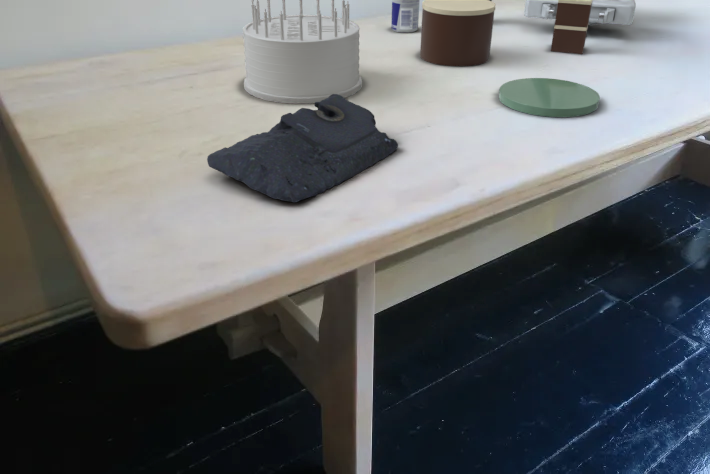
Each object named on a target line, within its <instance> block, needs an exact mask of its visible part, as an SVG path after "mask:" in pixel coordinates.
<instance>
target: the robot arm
mask: <svg viewBox="0 0 710 474" xmlns="http://www.w3.org/2000/svg"><path fill="white" fill-rule="evenodd" d="M524 2H525V4H524V9H523V10H524V11H523V15H524V16H525V17H526V18H532V19H544V20H555V19H556V13H557V6H558V0H525V1H524ZM636 7H637V4H636V1H635V0H593V1H592V7H591V12H590V18H589V23H588V26H596V25H624V26H630V25H632V24H633V21H634V19H635V18H634V17H635V13H636Z"/></svg>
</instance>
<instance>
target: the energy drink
mask: <svg viewBox="0 0 710 474" xmlns="http://www.w3.org/2000/svg"><path fill="white" fill-rule="evenodd" d="M419 18H420V0H391V22H390V23H391V25H390V26H391V27H390V28H391V30H392V31H393V32H397V33H403V34H404V33H407V34H408V33H414V32H417V30H419V20H420V19H419Z"/></svg>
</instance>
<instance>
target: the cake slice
mask: <svg viewBox="0 0 710 474" xmlns="http://www.w3.org/2000/svg"><path fill="white" fill-rule="evenodd" d="M592 1H593V0H558V6H557V13H556V19H554V26H553V33H552V39H551V44H550V45H551V46H550V52H556V53H566V54H574V55H575V54H578V55H583V53H584V51H585V46H586V41H587V34H588V29H589V25H588V23H589V18H590V12H591V7H592Z"/></svg>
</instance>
